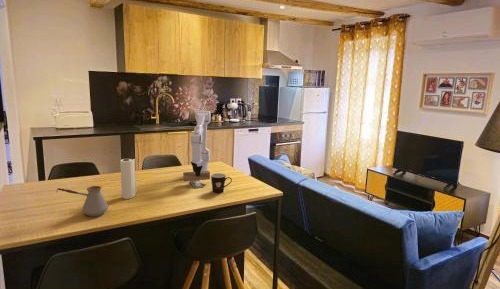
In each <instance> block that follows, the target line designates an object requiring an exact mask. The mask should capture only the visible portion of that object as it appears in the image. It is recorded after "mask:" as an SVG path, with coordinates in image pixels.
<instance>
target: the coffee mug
mask: <svg viewBox="0 0 500 289" xmlns="http://www.w3.org/2000/svg"><path fill="white" fill-rule="evenodd" d="M210 179H211V186H212V187H211V190H212V193H213V194H223V193H224V189H225V188H226V187H227V186H229V185H230V184H231V183H232V181H233V180H232V177H230V176H227V177H226V174H224V173H219V172H217V173H211V174H210ZM227 179H230V181H229V182H228V183H227V184H226V181H227ZM225 184H226V185H225Z"/></svg>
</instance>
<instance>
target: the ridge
mask: <svg viewBox="0 0 500 289" xmlns="http://www.w3.org/2000/svg"><path fill="white" fill-rule="evenodd" d="M189 182H190V184H191V187H192V188H193V189H200V188H205V187H204V184H202V182H201V180H195V181H189Z"/></svg>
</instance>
